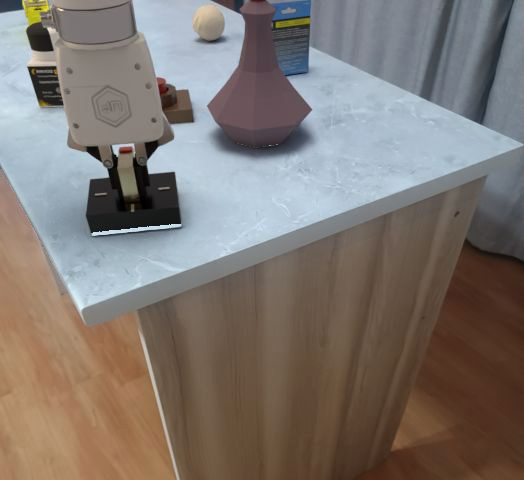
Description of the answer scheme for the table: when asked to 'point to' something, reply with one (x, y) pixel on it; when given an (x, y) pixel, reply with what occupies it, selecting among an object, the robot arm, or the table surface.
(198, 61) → the table surface
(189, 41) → the table surface
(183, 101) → the button block
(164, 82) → the button
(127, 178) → the beige two-tone block
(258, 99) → the flask
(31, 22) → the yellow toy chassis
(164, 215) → the lever switch base
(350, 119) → the table surface
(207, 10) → the beige ball
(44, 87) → the medicine bottle
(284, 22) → the blue product box
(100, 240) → the table surface
